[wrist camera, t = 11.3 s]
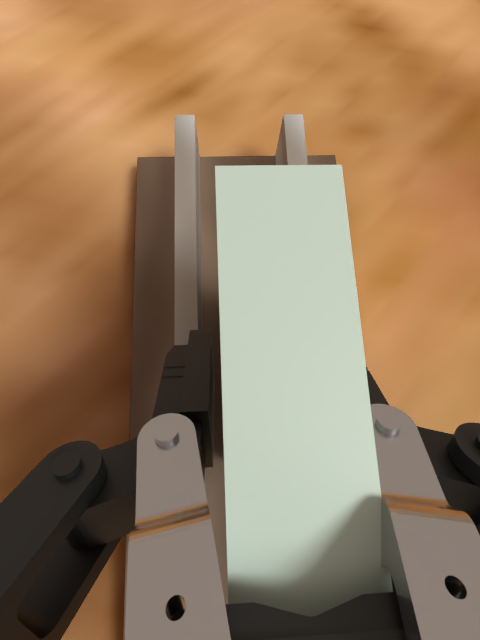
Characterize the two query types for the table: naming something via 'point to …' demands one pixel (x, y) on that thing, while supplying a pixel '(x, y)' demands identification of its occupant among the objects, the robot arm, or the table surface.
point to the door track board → (187, 280)
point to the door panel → (294, 393)
